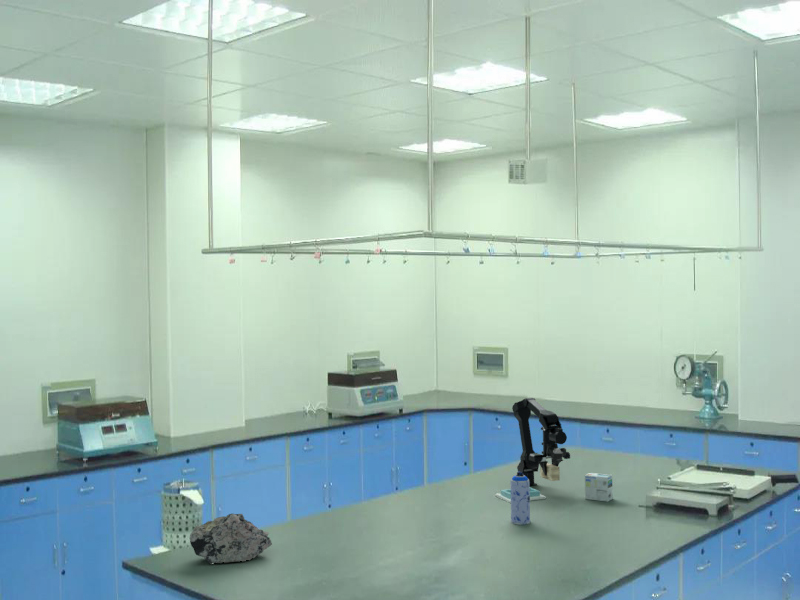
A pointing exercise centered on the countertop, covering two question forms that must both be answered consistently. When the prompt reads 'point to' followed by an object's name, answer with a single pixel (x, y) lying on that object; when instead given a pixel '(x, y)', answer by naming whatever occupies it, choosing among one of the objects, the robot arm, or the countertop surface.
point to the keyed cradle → (507, 495)
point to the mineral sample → (229, 539)
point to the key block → (551, 472)
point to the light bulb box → (598, 487)
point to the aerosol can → (520, 499)
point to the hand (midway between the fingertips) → (549, 475)
